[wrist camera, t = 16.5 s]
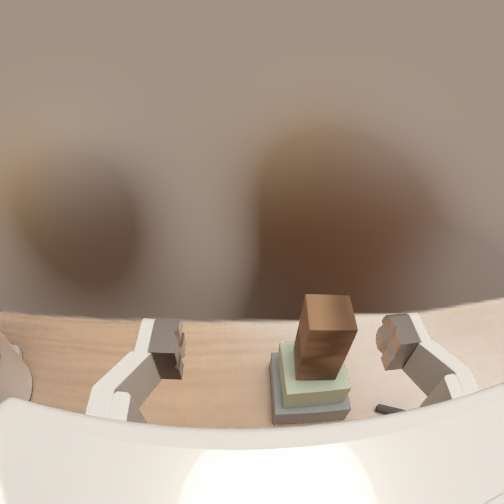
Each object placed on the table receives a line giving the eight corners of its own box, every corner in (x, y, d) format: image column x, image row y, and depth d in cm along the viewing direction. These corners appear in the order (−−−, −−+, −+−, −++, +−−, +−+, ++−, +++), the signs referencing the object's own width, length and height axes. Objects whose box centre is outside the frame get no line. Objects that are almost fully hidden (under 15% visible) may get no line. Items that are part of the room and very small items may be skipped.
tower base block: (272, 425, 39) (275, 414, 37) (269, 367, 47) (271, 352, 45) (343, 420, 39) (350, 409, 37) (332, 364, 47) (338, 350, 45)
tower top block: (283, 408, 37) (287, 394, 35) (277, 358, 44) (279, 342, 41) (342, 402, 38) (351, 388, 35) (331, 355, 44) (337, 338, 42)
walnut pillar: (295, 380, 36) (309, 329, 30) (293, 347, 40) (305, 294, 34) (335, 380, 36) (357, 330, 30) (330, 348, 40) (349, 295, 34)
